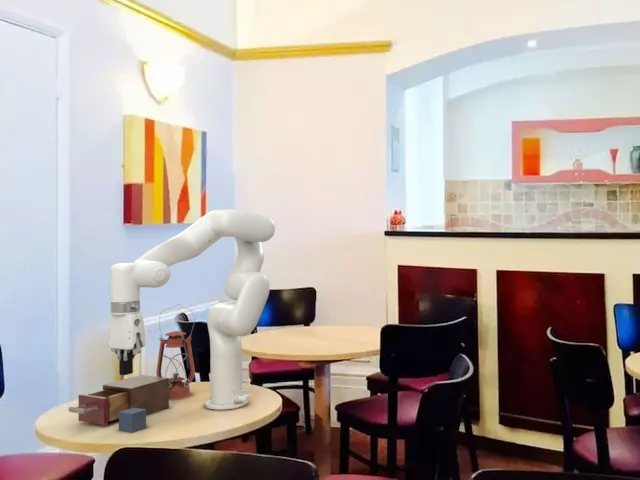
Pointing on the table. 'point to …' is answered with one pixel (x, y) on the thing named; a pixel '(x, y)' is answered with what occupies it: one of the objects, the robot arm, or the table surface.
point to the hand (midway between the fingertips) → (126, 373)
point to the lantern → (175, 384)
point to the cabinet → (144, 392)
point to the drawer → (101, 406)
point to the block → (132, 419)
